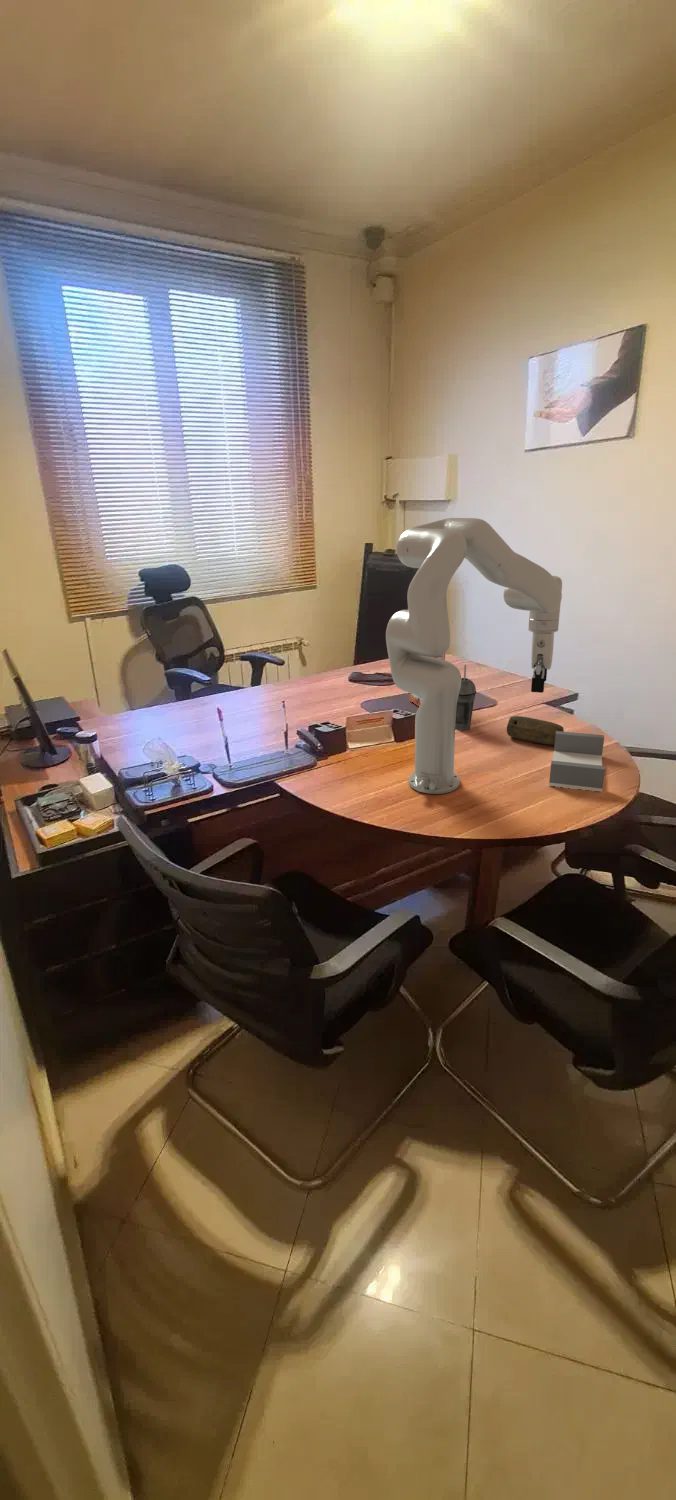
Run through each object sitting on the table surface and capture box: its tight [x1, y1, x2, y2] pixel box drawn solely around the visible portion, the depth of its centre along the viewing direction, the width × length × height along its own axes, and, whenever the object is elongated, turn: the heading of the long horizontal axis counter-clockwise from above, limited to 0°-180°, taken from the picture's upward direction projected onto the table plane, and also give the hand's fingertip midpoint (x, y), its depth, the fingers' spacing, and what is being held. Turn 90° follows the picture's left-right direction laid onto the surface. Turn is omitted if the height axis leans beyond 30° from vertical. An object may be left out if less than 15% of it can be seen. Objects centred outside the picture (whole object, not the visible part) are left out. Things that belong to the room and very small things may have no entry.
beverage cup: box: [455, 664, 477, 732], centre depth 186 cm, size 7×7×20 cm
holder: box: [548, 731, 606, 793], centre depth 159 cm, size 22×12×6 cm, turn 159°
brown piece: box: [506, 715, 565, 746], centre depth 177 cm, size 15×7×7 cm, turn 61°
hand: (538, 686), depth 172 cm, fingers open, 9 cm apart
